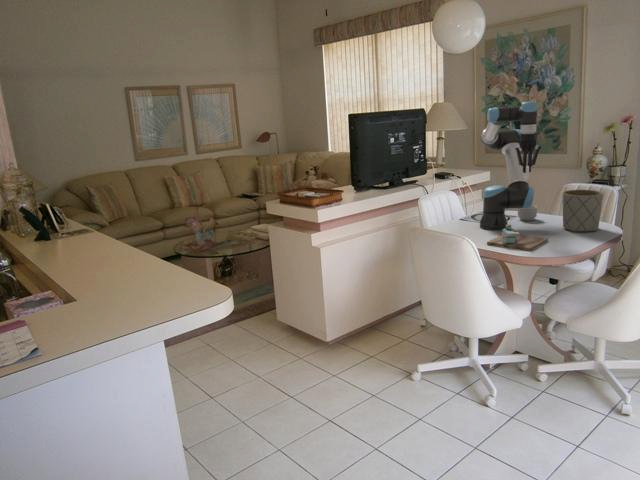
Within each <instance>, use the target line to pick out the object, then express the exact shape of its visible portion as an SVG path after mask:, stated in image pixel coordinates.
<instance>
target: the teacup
mask: <svg viewBox="0 0 640 480" xmlns="http://www.w3.org/2000/svg"><path fill="white" fill-rule="evenodd" d="M516 209H517V216H518V218H519V219H520V221H521V220H522V221H533V220H534V219H535V218H537V215H538V206H537V205H533V204H532V205H531V206H530V207H529V208H516Z"/></svg>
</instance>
